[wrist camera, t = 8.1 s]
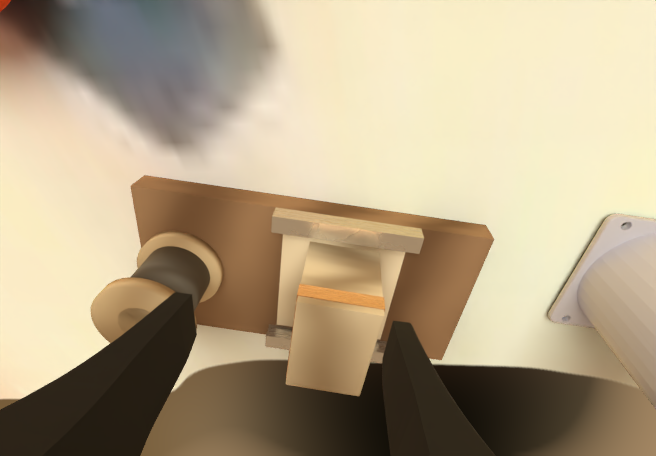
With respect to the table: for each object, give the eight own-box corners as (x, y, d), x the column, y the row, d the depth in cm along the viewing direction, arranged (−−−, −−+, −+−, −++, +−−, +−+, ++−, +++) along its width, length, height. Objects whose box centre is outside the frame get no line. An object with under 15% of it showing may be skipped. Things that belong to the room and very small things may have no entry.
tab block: (380, 252, 20) (385, 315, 16) (360, 327, 24) (360, 396, 19) (309, 240, 20) (295, 300, 16) (298, 317, 24) (284, 384, 19)
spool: (222, 237, 21) (187, 295, 17) (224, 301, 24) (194, 365, 19) (137, 225, 21) (79, 279, 17) (149, 290, 24) (101, 352, 19)
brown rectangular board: (485, 225, 21) (500, 249, 19) (437, 342, 26) (444, 372, 24) (144, 175, 21) (120, 194, 19) (163, 302, 26) (146, 328, 24)
